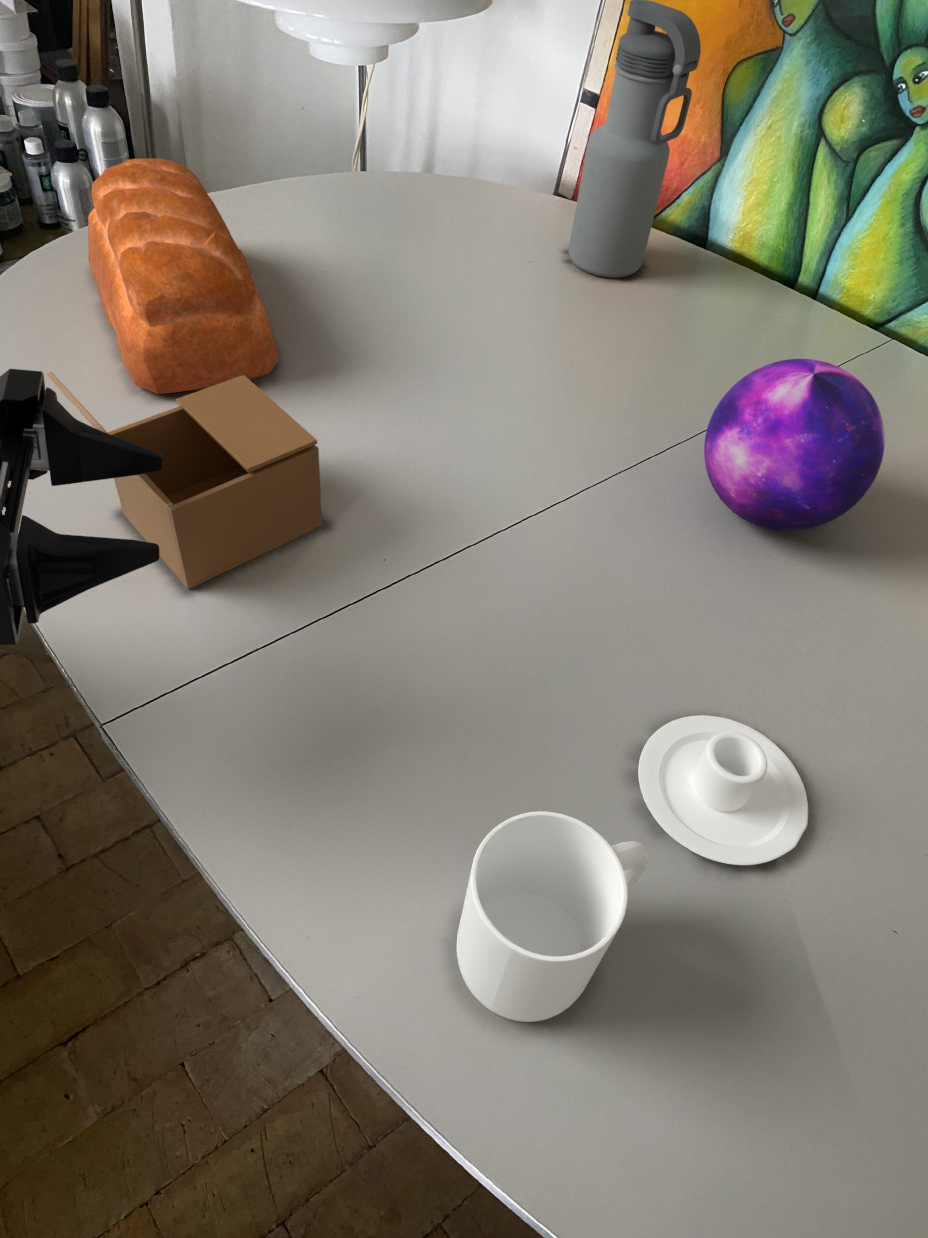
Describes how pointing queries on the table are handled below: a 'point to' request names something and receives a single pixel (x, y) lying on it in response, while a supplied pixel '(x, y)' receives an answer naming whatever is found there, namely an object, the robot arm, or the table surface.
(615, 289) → the table surface
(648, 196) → the water bottle
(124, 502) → the carton
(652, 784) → the candle holder
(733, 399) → the decorative orb
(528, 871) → the mug
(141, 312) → the bread
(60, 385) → the flap
